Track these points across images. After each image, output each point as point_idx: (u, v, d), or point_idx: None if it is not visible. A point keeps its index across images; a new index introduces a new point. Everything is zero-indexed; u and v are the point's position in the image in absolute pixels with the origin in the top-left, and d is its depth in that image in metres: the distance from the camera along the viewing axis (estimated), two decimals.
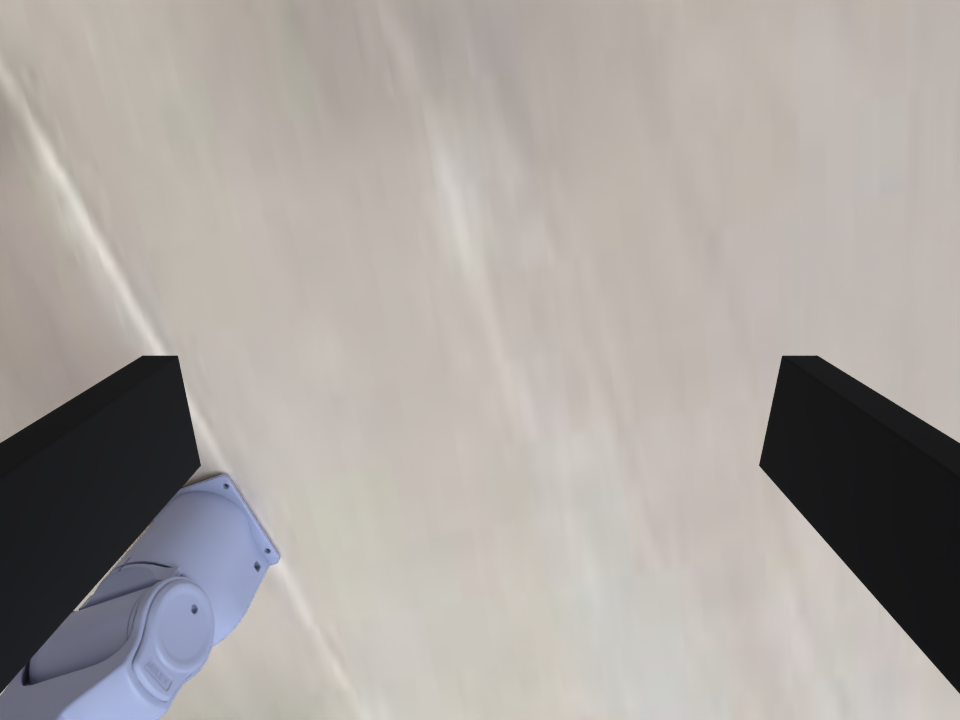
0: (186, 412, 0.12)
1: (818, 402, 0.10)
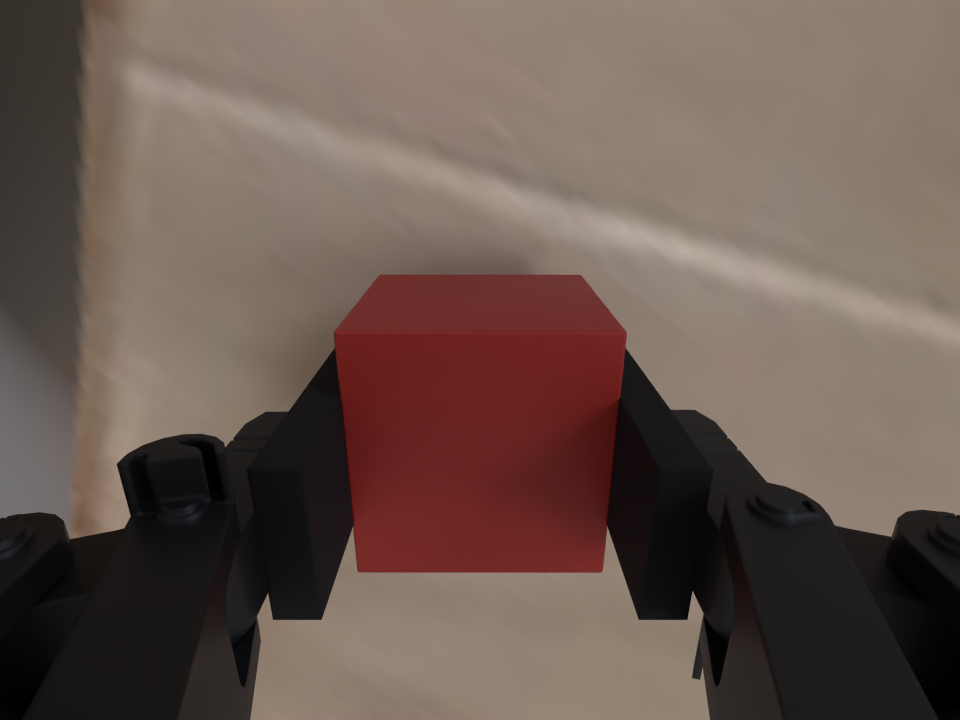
0: None
1: None
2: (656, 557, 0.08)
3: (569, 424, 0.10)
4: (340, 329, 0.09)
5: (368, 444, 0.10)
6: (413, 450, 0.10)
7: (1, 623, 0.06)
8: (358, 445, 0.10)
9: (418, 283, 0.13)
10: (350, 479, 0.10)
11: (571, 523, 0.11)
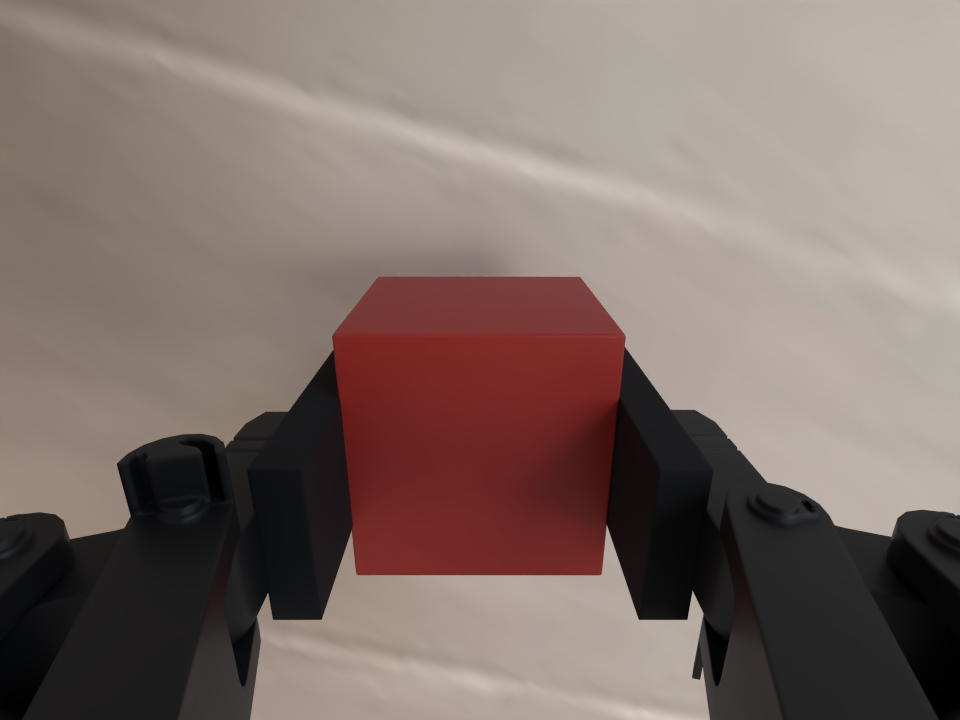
0: None
1: None
2: (656, 557, 0.08)
3: (568, 426, 0.10)
4: (338, 332, 0.09)
5: (367, 446, 0.10)
6: (412, 452, 0.10)
7: (1, 623, 0.06)
8: (357, 447, 0.10)
9: (417, 285, 0.13)
10: (349, 482, 0.10)
11: (570, 526, 0.11)
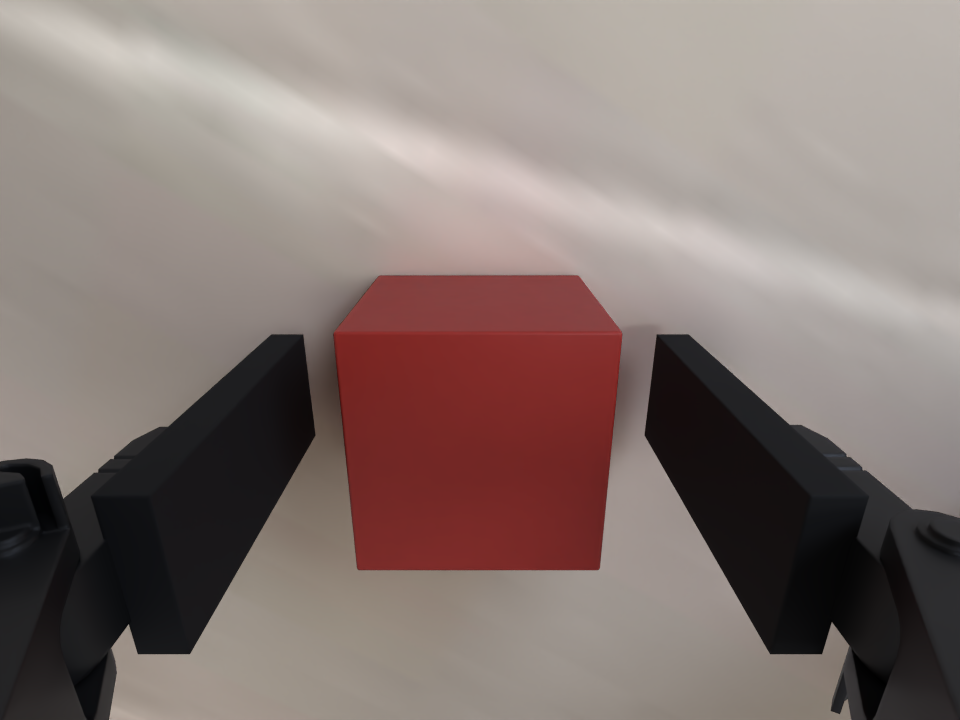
0: (307, 386, 0.14)
1: (675, 373, 0.12)
2: (796, 589, 0.08)
3: (565, 423, 0.10)
4: (339, 330, 0.09)
5: (368, 443, 0.10)
6: (412, 449, 0.10)
7: None
8: (358, 444, 0.10)
9: (417, 284, 0.13)
10: (349, 478, 0.10)
11: (568, 521, 0.11)
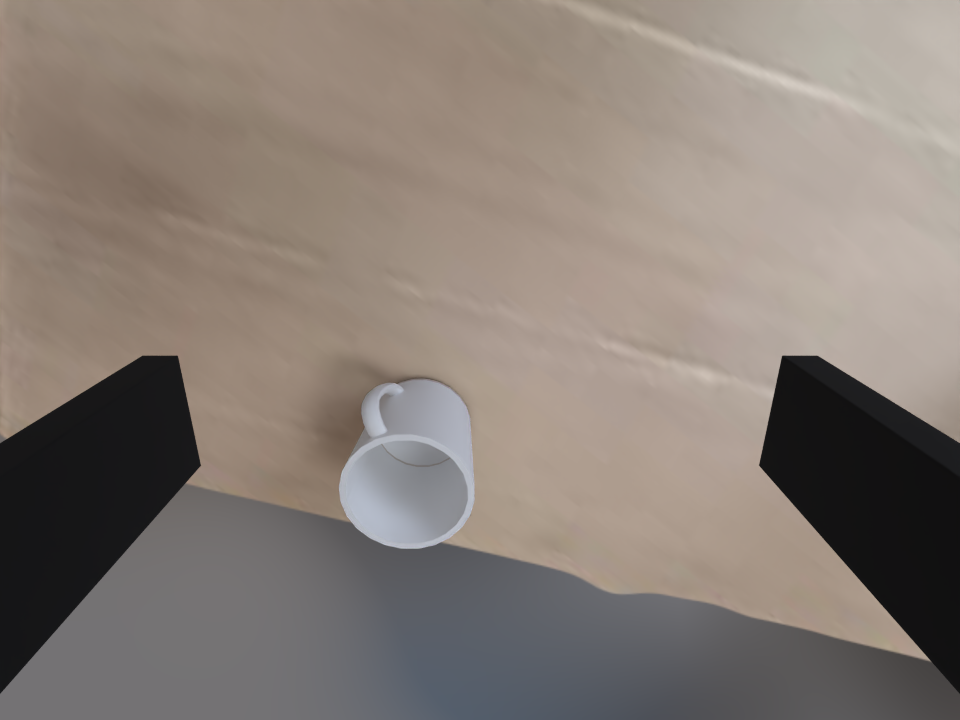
0: (187, 411, 0.12)
1: (818, 401, 0.10)
2: None
3: None
4: None
5: None
6: None
7: None
8: None
9: None
10: None
11: None
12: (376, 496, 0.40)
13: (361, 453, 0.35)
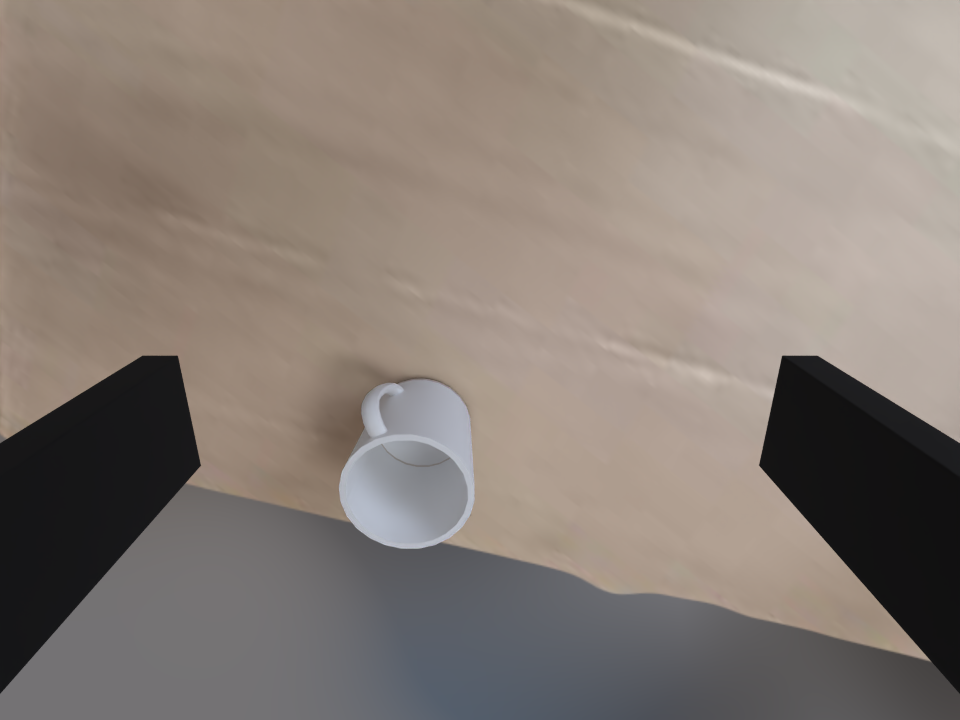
0: (187, 411, 0.12)
1: (818, 401, 0.10)
2: None
3: None
4: None
5: None
6: None
7: None
8: None
9: None
10: None
11: None
12: (376, 496, 0.40)
13: (361, 453, 0.35)
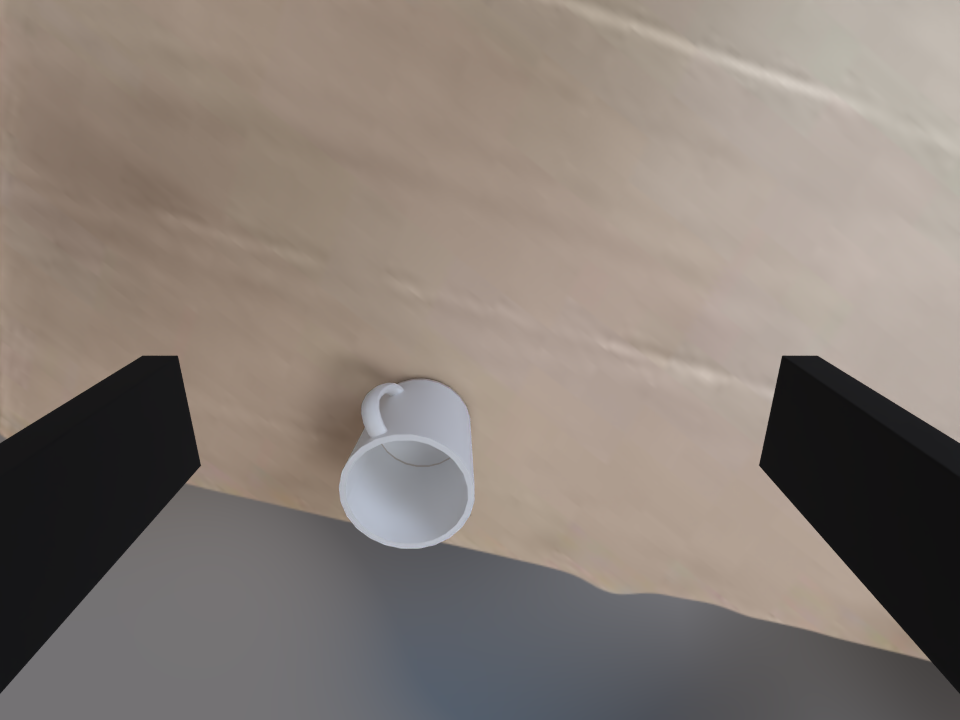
0: (187, 411, 0.12)
1: (818, 401, 0.10)
2: None
3: None
4: None
5: None
6: None
7: None
8: None
9: None
10: None
11: None
12: (376, 496, 0.40)
13: (361, 453, 0.35)
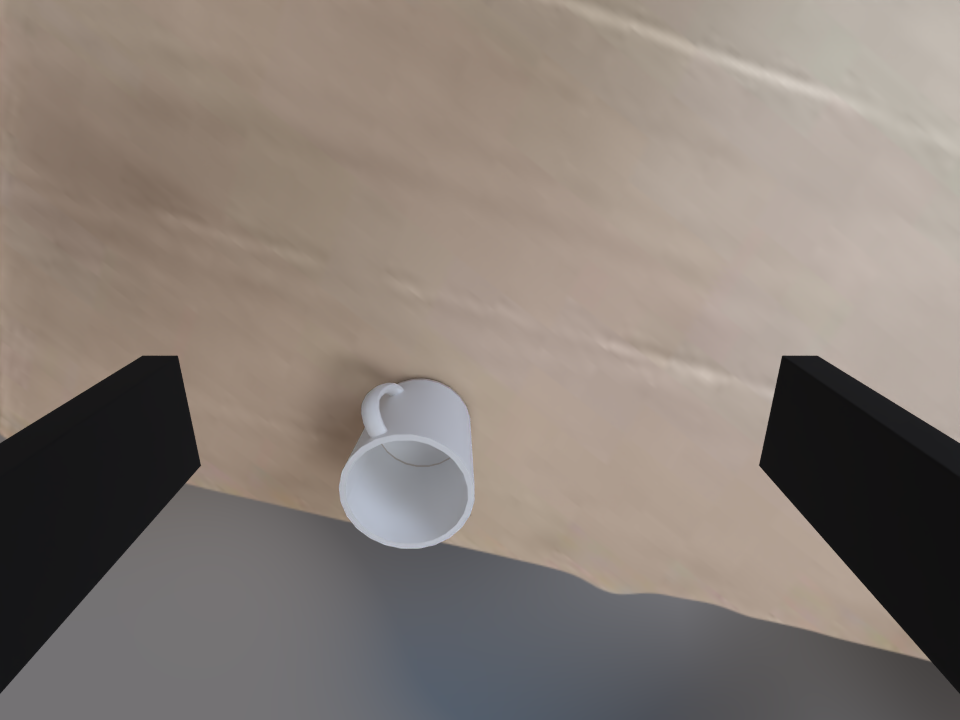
0: (187, 411, 0.12)
1: (818, 401, 0.10)
2: None
3: None
4: None
5: None
6: None
7: None
8: None
9: None
10: None
11: None
12: (376, 496, 0.40)
13: (361, 453, 0.35)
